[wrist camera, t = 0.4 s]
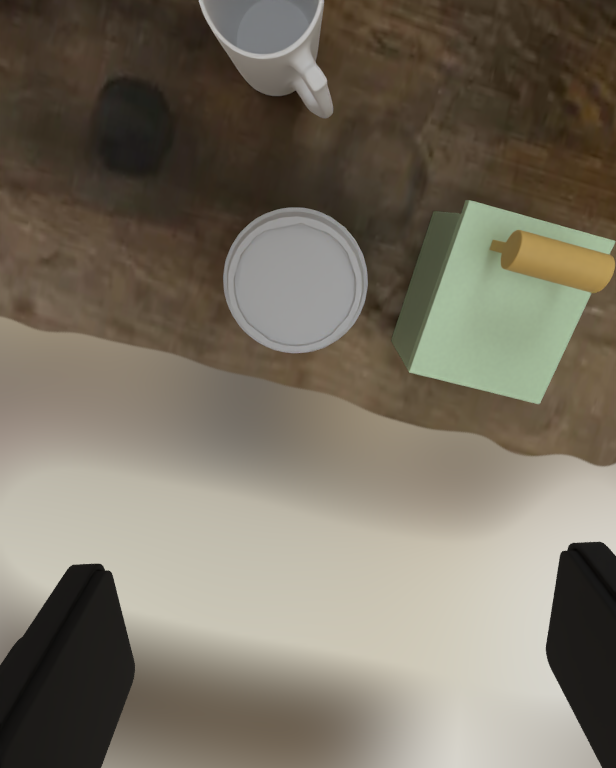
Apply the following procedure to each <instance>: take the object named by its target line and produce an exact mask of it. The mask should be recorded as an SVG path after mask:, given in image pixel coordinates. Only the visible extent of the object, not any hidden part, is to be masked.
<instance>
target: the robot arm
mask: <svg viewBox="0 0 616 768" xmlns="http://www.w3.org/2000/svg"><path fill="white" fill-rule="evenodd" d="M546 654H547V659H548V662H549V665H550V667H551V670H552V672H553V673H554V675H555V677H556V679H557V681H558V683H559V685H560V687H561V689H562V691H563V693H564V695H565V697H566V698H567V700H568V702H569V704H570V706H571V708H572V710H573V712H574V714H575V716H576V718H577V720H578V722H579V724H580V726H581V728H582V729H583V731H584V733H585V735H586V737H587V739H588V741H589V743H590V745H591V747H592V749H593V751H594V753H595V755H596V757H597V759H598V760H599V762H600V764H601V766H602V768H616V556H615V555H614V554H613V552H612V551H611V550H610V549H609V548H608V547H607V546H606V545H605V544H604V543H602V542H585V543H572V544H570V545H569V547H568V550H567V551H562V553H561V555H560V559H559V566H558V572H557V579H556V586H555V592H554V599H553V604H552V612H551V618H550V624H549V631H548V637H547V643H546ZM134 673H135V663H134V658H133V655H132V651H131V647H130V643H129V639H128V635H127V631H126V627H125V623H124V619H123V615H122V611H121V607H120V603H119V599H118V595H117V591H116V587H115V583H114V579H113V575H112V573H111V572H110V571H105V569H104V567H103V566H102V565H101V564H80V565H72V566H70V567H69V569H68V570H67V571H66V572H65V574H64V575H63V577H62V578H61V580H60V581H59V583H58V585H57V586H56V587H55V589H54V590H53V592H52V594H51V595H50V597H49V598H48V600H47V601H46V603H45V604H44V605H43V607H42V609H41V610H40V612H39V613H38V615H37V616H36V618H35V619H34V621H33V622H32V624H31V625H30V626H29V628H28V630H27V631H26V633H25V634H24V635H23V637H22V638H20V639H19V640H18V641H17V642H16V644H15V645H14V646H13V647H12V649H11V650H10V652H9V653H8V655H7V656H6V658H5V659H4V661H3V662H2V664H1V665H0V768H101V766H102V764H103V761H104V758H105V755H106V753H107V750H108V747H109V745H110V742H111V739H112V737H113V734H114V731H115V729H116V726H117V723H118V720H119V718H120V715H121V712H122V710H123V707H124V704H125V701H126V699H127V696H128V694H129V691H130V688H131V686H132V683H133V679H134Z"/></svg>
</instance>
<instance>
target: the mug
mask: <svg viewBox="0 0 616 768" xmlns="http://www.w3.org/2000/svg"><path fill="white" fill-rule="evenodd" d="M199 3H200V6H201V9H202V12H203V14H204V17H205V19H206V21H207V23H208V24H209V26H210V28H211V30H212V31H213V33H214V35H215V36H216V38H217V39H218V41H219V42H220V44H221V45H222V47H223V48H224V50H225V51H226V53H227V54H228V56H229V57H230V59H231V60H232V62H233V63H234V65H235V66H236V68H237V69H238V71H239V72H240V74H241V75H242V76H243V78H244V79H245V80H246V81H247V82H248V83H249V84H250V85H251V86H252V87H253V88H254V89H256V90H257V91H259V92H261V93H263V94H266V95H270V96H283V95H287V94H290V93H292V92H294V91H297V93H298V94H299V96H300V97H301V99H302V100H303V102H304V104H305V105H306V107H307V108H308V109H309V110H310V111H311V112H312V113H314V114H315V115H317V116H319V117H321V118H328V117H330V116H331V115H332V113H333V104H332V100H331V96H330V92H329V89H328V86H327V79H326V77H325V75H324V74H323V72H322V71H321V69H320V68H319V67H318V66H317V64H316V57H317V53H318V46H319V37H320V30H321V22H322V15H323V7H324V0H199Z"/></svg>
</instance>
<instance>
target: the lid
mask: <svg viewBox="0 0 616 768" xmlns="http://www.w3.org/2000/svg"><path fill="white" fill-rule="evenodd" d="M614 244H615V241H613V240H610V239H606V238H603V237H599V236H595V235H592V234H588V233H585V232H581V231H578V230H574V229H571V228H567V227H563V226H560V225H556V224H553V223H549V222H546V221H542V220H538V219H535V218H531V217H528V216H524V215H521V214H517V213H514V212H510V211H506V210H503V209H499V208H496V207H492V206H489V205H485V204H481V203H478V202H474V201H471V200H466V201H465V204H464V207H463V210H462V213H461V216H460V219H459V221H458V224H457V227H456V230H455V233H454V236H453V239H452V241H451V244H450V247H449V250H448V253H447V256H446V259H445V262H444V264H443V267H442V270H441V273H440V276H439V279H438V282H437V285H436V287H435V290H434V293H433V296H432V299H431V302H430V305H429V308H428V310H427V313H426V316H425V319H424V322H423V325H422V328H421V330H420V333H419V336H418V339H417V342H416V345H415V348H414V351H413V353H412V356H411V359H410V362H409V365H408V368H407V370H408V371H409V372H410V373H414V374H418V375H422V376H426V377H430V378H434V379H438V380H442V381H446V382H450V383H454V384H458V385H463V386H467V387H471V388H475V389H479V390H483V391H487V392H491V393H495V394H499V395H503V396H507V397H511V398H515V399H520V400H524V401H528V402H532V403H536V404H540V402H541V400H542V398H543V396H544V394H545V391H546V389H547V387H548V385H549V383H550V381H551V379H552V376H553V374H554V372H555V370H556V368H557V366H558V364H559V361H560V359H561V357H562V355H563V353H564V351H565V349H566V346H567V344H568V342H569V340H570V338H571V336H572V334H573V331H574V329H575V327H576V325H577V323H578V321H579V319H580V316H581V314H582V312H583V310H584V308H585V306H586V304H587V301H588V299H589V297H590V295H591V293H596V292H599V291H601V290H602V289H603V288H604V287H605V286H606V285H607V284H608V283H609V281H610V279H611V277H612V275H613V273H614V269H615V260H614V258H613V257H612V256H611V255H609V254H610V252H611V250H612V248H613V246H614Z"/></svg>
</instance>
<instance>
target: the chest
mask: <svg viewBox="0 0 616 768" xmlns="http://www.w3.org/2000/svg"><path fill="white" fill-rule="evenodd" d="M460 216H461V214H458V213H448V212H438V211H434V212H433V214H432V217H431V220H430V224H429V227H428V230H427V233H426V236H425V239H424V242H423V245H422V248H421V251H420V254H419V257H418V260H417V263H416V266H415V269H414V272H413V275H412V278H411V281H410V284H409V287H408V291H407V294H406V297H405V300H404V303H403V306H402V309H401V312H400V315H399V318H398V321H397V324H396V327H395V330H394V333H393V336H392V339H391V341H392V343H393V345H394V347H395V348H396V350H397V352H398V354H399V355H400V357H401V359H402V361H403V362H404V364H405V366H406V368H408V365H409V362H410V359H411V356H412V353H413V351H414V348H415V345H416V342H417V339H418V336H419V333H420V330H421V328H422V325H423V322H424V319H425V316H426V313H427V310H428V308H429V305H430V302H431V299H432V296H433V293H434V290H435V287H436V285H437V282H438V279H439V276H440V273H441V270H442V267H443V264H444V262H445V259H446V256H447V253H448V250H449V247H450V244H451V241H452V239H453V236H454V233H455V230H456V227H457V224H458V221H459V219H460Z"/></svg>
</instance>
